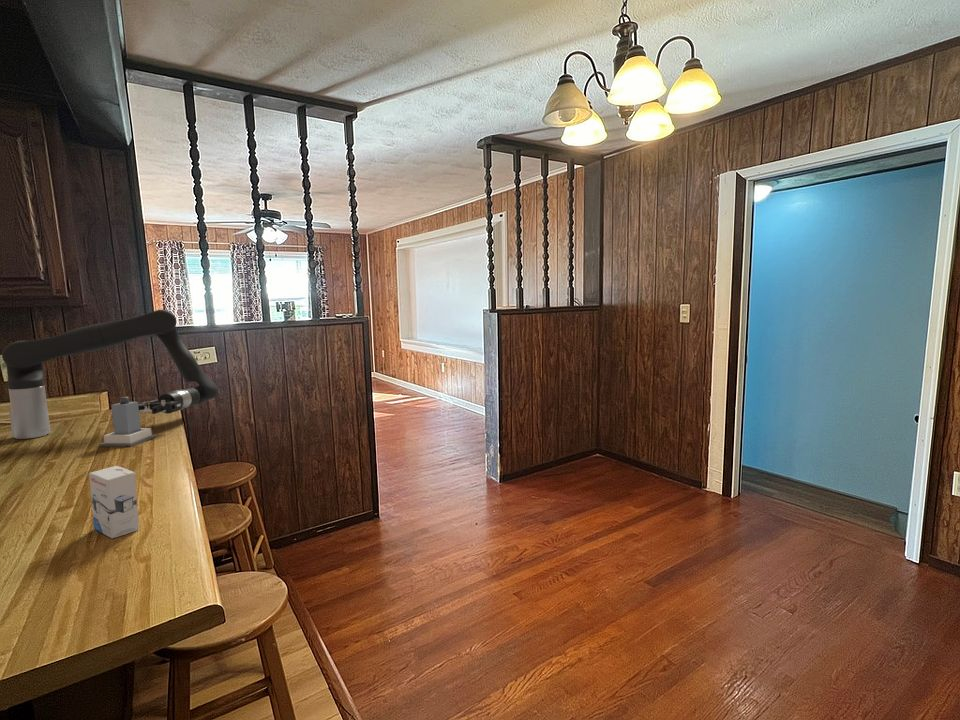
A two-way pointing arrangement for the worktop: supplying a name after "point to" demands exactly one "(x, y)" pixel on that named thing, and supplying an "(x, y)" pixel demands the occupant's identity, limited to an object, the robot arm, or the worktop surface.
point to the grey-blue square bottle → (126, 417)
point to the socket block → (127, 438)
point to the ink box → (114, 501)
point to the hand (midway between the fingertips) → (141, 410)
